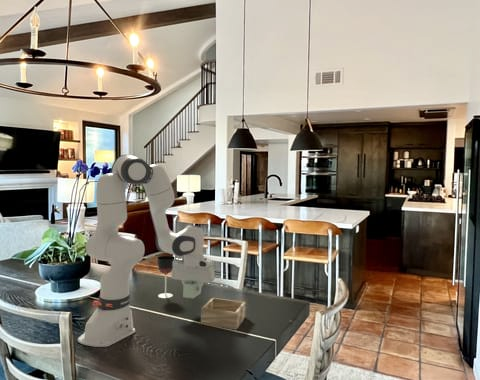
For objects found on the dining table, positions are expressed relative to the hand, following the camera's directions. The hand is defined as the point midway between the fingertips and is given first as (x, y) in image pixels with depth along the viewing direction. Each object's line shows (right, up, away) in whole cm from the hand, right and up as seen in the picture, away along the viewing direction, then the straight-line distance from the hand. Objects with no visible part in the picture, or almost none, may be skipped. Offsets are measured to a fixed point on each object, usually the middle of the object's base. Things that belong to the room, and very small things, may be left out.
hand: (192, 290), depth 171 cm
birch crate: (+15, -12, -7) cm, 20 cm away
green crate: (0, -2, 0) cm, 2 cm away
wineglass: (-17, -9, +24) cm, 31 cm away
